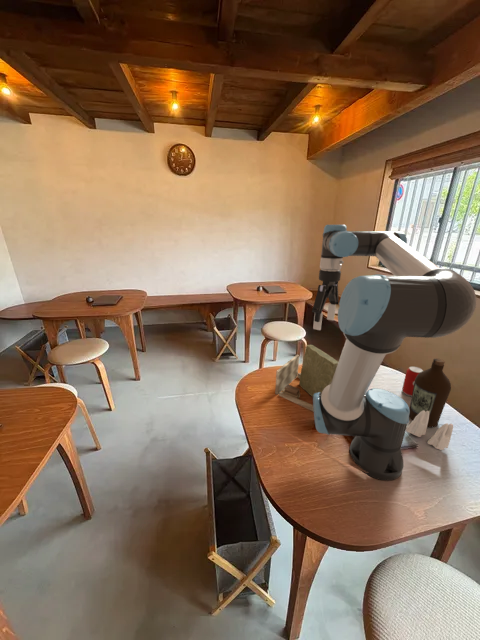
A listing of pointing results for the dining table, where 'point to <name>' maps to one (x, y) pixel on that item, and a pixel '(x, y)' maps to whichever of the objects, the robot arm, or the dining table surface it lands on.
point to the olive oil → (430, 392)
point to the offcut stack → (292, 391)
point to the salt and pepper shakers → (439, 438)
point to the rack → (289, 381)
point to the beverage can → (410, 380)
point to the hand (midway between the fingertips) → (323, 324)
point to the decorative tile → (316, 370)
